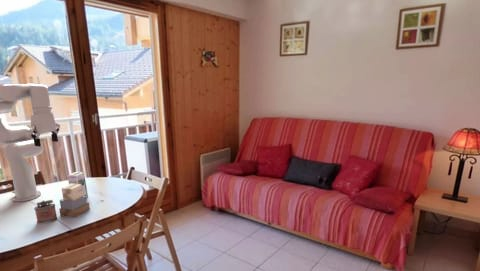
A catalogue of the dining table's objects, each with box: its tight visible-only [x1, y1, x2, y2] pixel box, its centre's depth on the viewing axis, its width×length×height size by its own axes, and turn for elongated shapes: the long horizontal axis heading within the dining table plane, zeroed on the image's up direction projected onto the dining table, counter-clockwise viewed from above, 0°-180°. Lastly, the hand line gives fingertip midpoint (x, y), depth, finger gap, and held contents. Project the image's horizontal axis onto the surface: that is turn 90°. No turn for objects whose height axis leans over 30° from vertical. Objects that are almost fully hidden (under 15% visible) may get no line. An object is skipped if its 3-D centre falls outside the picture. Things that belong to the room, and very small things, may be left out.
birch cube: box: [61, 183, 83, 201], centre depth 137 cm, size 6×6×6 cm
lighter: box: [34, 199, 58, 225], centre depth 131 cm, size 8×3×10 cm, turn 114°
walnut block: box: [58, 201, 91, 218], centre depth 139 cm, size 9×9×4 cm
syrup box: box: [67, 171, 89, 198], centre depth 154 cm, size 6×6×14 cm
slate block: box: [59, 195, 88, 210], centre depth 138 cm, size 8×8×4 cm
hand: (46, 143), depth 143 cm, fingers open, 9 cm apart
